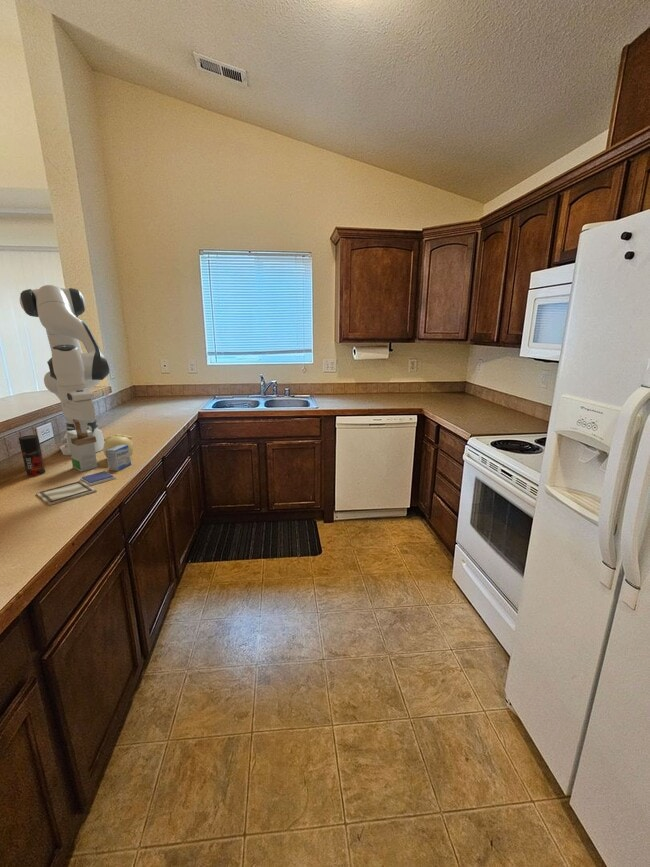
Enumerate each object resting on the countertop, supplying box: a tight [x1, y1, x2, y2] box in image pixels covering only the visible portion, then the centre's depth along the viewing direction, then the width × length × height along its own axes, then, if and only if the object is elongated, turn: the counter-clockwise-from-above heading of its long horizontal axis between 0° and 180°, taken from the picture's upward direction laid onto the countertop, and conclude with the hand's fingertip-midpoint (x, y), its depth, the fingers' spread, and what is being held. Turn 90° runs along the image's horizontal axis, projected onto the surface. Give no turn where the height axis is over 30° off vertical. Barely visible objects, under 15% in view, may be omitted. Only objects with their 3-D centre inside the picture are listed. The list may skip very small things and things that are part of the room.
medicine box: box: [105, 445, 132, 472], centre depth 156 cm, size 8×4×9 cm, turn 168°
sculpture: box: [103, 433, 134, 458], centre depth 167 cm, size 11×12×11 cm
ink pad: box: [79, 470, 117, 487], centre depth 144 cm, size 9×9×1 cm
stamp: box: [71, 419, 96, 446], centre depth 136 cm, size 6×6×9 cm
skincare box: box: [66, 430, 98, 472], centre depth 155 cm, size 8×7×16 cm
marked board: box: [35, 480, 97, 507], centre depth 132 cm, size 14×14×1 cm
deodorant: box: [18, 434, 46, 477], centre depth 149 cm, size 6×6×15 cm
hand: (81, 431), depth 136 cm, fingers closed on stamp, 3 cm apart
